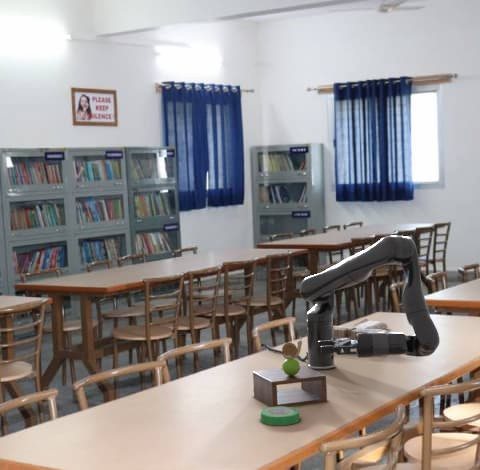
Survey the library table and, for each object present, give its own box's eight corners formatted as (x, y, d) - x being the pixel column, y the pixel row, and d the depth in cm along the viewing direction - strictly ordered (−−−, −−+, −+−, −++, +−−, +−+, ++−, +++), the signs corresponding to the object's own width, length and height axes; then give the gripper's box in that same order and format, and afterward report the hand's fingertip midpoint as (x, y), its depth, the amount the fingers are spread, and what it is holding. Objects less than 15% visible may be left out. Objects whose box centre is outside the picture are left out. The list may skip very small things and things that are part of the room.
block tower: (391, 351, 361) (324, 343, 380) (391, 330, 360) (324, 322, 379) (381, 355, 355) (314, 346, 374) (381, 333, 354) (314, 325, 373)
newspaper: (353, 342, 379) (353, 333, 378) (325, 340, 386) (325, 331, 386) (389, 327, 406) (388, 319, 406) (362, 326, 414) (362, 318, 414)
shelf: (254, 396, 299) (252, 371, 299) (305, 390, 304) (304, 365, 303) (272, 408, 284) (271, 381, 283) (327, 401, 288) (326, 375, 288)
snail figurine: (304, 377, 287) (302, 338, 286) (283, 377, 288) (281, 339, 287) (302, 373, 293) (301, 335, 292) (282, 373, 293) (280, 336, 292)
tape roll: (289, 427, 263) (289, 417, 263) (254, 423, 269) (254, 414, 268) (305, 417, 272) (305, 408, 272) (271, 413, 278) (270, 404, 278)
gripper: (368, 328, 295) (316, 331, 296) (376, 337, 281) (321, 339, 282) (368, 352, 296) (317, 354, 297) (376, 361, 282) (322, 363, 283)
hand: (319, 347), depth 290 cm, fingers open, 8 cm apart
